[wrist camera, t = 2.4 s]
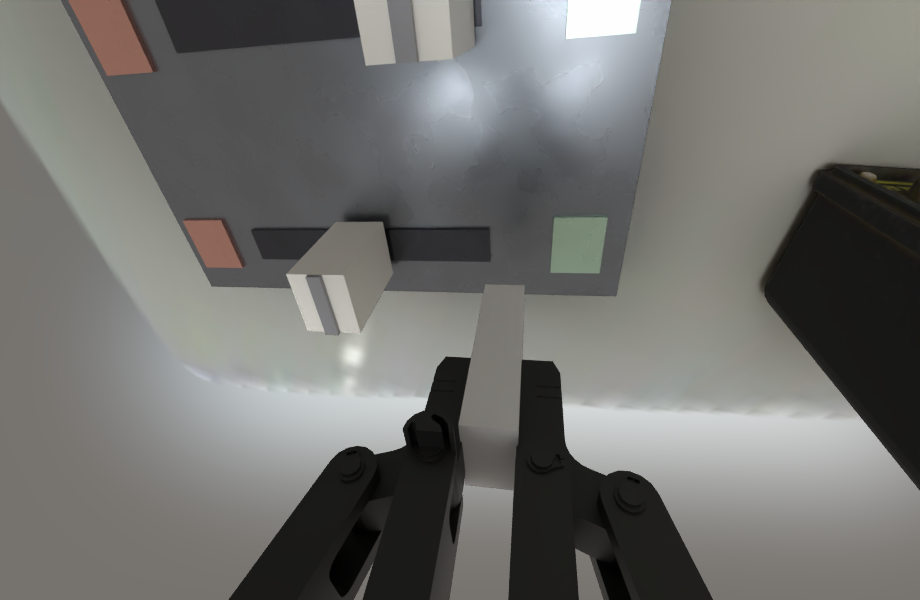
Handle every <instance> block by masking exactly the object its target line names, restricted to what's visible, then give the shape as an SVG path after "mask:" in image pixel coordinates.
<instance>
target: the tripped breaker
mask: <svg viewBox="0 0 920 600" xmlns="http://www.w3.org/2000/svg"><path fill="white" fill-rule="evenodd" d="M392 274H393V270H392V265H391V260H390V255H389V250H388V245H387V240H386V235H385V230H384V226H383V222H335V223H334V224H333V225H332V226H331V227H330V229H329V230H328V231H327V232H326V233H325V234H324V235H323V236H322V237H321V238H320V239H319V240H318V241H317V242H316V243H315V244H314V245H313V246H312V247H311V248H310V250H309V251H308V252H307V253H306V254H305V255H304V256H303V257H302V258H301V259H300V260H299V261H298V262H297V263H296V264H295V265H294V266H293V267H292V268H291V269H290V270H289V272H288V273H287V274H286V276H287V278H288V281H289V283H290V286H291V288H292V291H293V294H294V296H295V299H296V301H297V304H298V306H299V309H300V312H301V314H302V317H303V319H304V322H305V324H306V327H307V330H308V331H320V332H325V334H326V335H339V334H340V332H343V333H361V331H362V330H363V328H364V326H365V324H366V322H367V320H368V319H369V317H370V315H371V313H372V311H373V309H374V308H375V306H376V304H377V302H378V300H379V298H380V297H381V295H382V293H383V291H384V289H385V287H386V286H387V284H388V282H389V280H390V278H391V276H392Z"/></svg>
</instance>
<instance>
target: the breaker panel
mask: <svg viewBox="0 0 920 600" xmlns="http://www.w3.org/2000/svg"><path fill="white" fill-rule="evenodd" d="M61 1H62V3H63V5H64V7H65V9H66V11H67V13H68V14H69V16H70V18H71V20H72V22H73V24H74V26H75V28H76V30H77V31H78V33H79V35H80V37H81V39H82V41H83V43H84V45H85V47H86V49H87V50H88V52H89V54H90V56H91V58H92V60H93V62H94V64H95V66H96V68H97V69H98V71H99V73H100V75H101V77H102V79H103V81H104V83H105V85H106V87H107V88H108V90H109V92H110V94H111V96H112V98H113V100H114V102H115V104H116V105H117V107H118V109H119V111H120V113H121V115H122V117H123V119H124V121H125V123H126V124H127V126H128V128H129V130H130V132H131V134H132V136H133V138H134V140H135V142H136V143H137V145H138V147H139V149H140V151H141V153H142V155H143V157H144V159H145V160H146V162H147V164H148V166H149V168H150V170H151V172H152V174H153V176H154V178H155V179H156V181H157V183H158V185H159V187H160V189H161V191H162V193H163V195H164V197H165V198H166V200H167V202H168V204H169V206H170V208H171V210H172V212H173V214H174V216H175V217H176V219H177V221H178V223H179V225H180V227H181V229H182V231H183V233H184V234H185V236H186V238H187V240H188V242H189V244H190V246H191V248H192V250H193V252H194V253H195V255H196V257H197V259H198V261H199V263H200V265H201V267H202V269H203V271H204V272H205V274H206V276H207V278H208V280H209V282H210V284H211V286H218V287H259V288H291V286H290V283H289V281H288V278H287V276H286V274H287V273H288V272H289V270H290V269H291V268H292V267H293V266H294V265H295V264H296V263H297V262H298V261H299V260H300V259H301V258H302V257H303V256H304V255H305V254H306V253H307V252H308V251H309V250H310V248H311V247H312V246H313V245H314V244H315V243H316V242H317V241H318V240H319V239H320V238H321V237H322V236H323V235H324V234H325V233H326V232H327V231H328V230H329V229H330V227H331V226H332V225H333V224H334V223H335V222H383V226H384V230H385V235H386V240H387V245H388V250H389V255H390V260H391V265H392V270H393V274H392V276H391V278H390V280H389V282H388V284H387V286H386V287H385V289H384V291H423V292H464V293H484V288H485V284H495V285H525V287H524V294H546V295H587V296H616V294H617V289H618V284H619V278H620V273H621V268H622V262H623V257H624V252H625V246H626V241H627V236H628V230H629V225H630V220H631V214H632V209H633V204H634V198H635V193H636V188H637V182H638V177H639V172H640V166H641V161H642V156H643V150H644V145H645V140H646V134H647V129H648V124H649V118H650V113H651V108H652V102H653V97H654V92H655V86H656V81H657V76H658V70H659V65H660V60H661V54H662V49H663V44H664V38H665V33H666V28H667V22H668V17H669V12H670V6H671V1H672V0H473V9H474V32H475V47H474V48H472V49H470V50H468V51H466V52H465V53H463V54H461V55H459V56H457V57H456V58H454V59H447V60H434V61H421V62H415V63H402V64H396V63H394V64H381V65H368V66H366V65H365V59H364V54H363V48H362V43H361V37H360V32H359V27H358V21H357V16H356V10H355V5H354V0H61Z"/></svg>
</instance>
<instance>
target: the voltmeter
mask: <svg viewBox="0 0 920 600" xmlns="http://www.w3.org/2000/svg"><path fill="white" fill-rule="evenodd" d="M813 190H815V191H816V192H818V193H819V194H818V196H817V197H816V199H815V201H814V203H813V204H812V206H811V208H810V209H809V211H808V213H807V215H806V216H805V218H804V220H803V222H802V223H801V225H800V227H799V229H798V230H797V232H796V234H795V235H794V237H793V239H792V241H791V242H790V244H789V246H788V248H787V249H786V251H785V253H784V255H783V256H782V258H781V260H780V262H779V263H778V265H777V267H776V268H775V270H774V272H773V274H772V275H771V277H770V279H769V281H768V282H767V284H766V286H765V297H766V299H767V301H768V303H769V304H770V305H771V307H772V308H773V309H774V310H775V312H776V313H777V314H778V315H779V317H780V318H781V319H782V320H783V322H784V323H785V324H786V325H787V327H788V328H789V329H790V330H791V331H792V333H793V334H794V335H795V336H796V338H797V339H798V340H799V341H800V343H801V344H802V345H803V346H804V348H805V349H806V350H807V351H808V353H809V354H810V355H811V356H812V357H813V359H814V360H815V361H816V362H817V364H818V365H819V366H820V367H821V369H822V370H823V371H824V372H825V374H826V375H827V376H828V377H829V379H830V380H831V381H832V382H833V383H834V385H835V386H836V387H837V388H838V390H839V391H840V392H841V393H842V395H843V396H844V397H845V398H846V400H847V401H848V402H849V403H850V405H851V406H852V407H853V408H854V410H855V411H856V412H857V413H858V414H859V416H860V417H861V418H862V419H863V421H864V422H865V423H866V424H867V426H868V427H869V428H870V429H871V431H872V432H873V433H874V434H875V435H876V437H877V438H878V439H879V440H880V442H881V443H882V444H883V445H884V447H885V448H886V449H887V450H888V452H889V453H890V454H891V455H892V457H893V458H894V459H895V460H896V461H897V463H898V464H899V465H900V466H901V468H902V469H903V470H904V471H905V473H906V474H907V475H908V476H909V478H910V479H911V480H912V481H913V483H914V484H915V485H916V486H917V488H918V489H919V490H920V170H919V169H903V168H888V167H872V166H856V165H836V166H834V168H833V170H823V171H822V172H821V173H820V175H819V177H818V178H817V180H816V182H815V184H814V185H813Z"/></svg>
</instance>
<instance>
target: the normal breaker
mask: <svg viewBox="0 0 920 600" xmlns="http://www.w3.org/2000/svg"><path fill="white" fill-rule="evenodd" d="M354 5H355V10H356V16H357V21H358V27H359V32H360V37H361V43H362V48H363V54H364V59H365V65H366V66H368V65H381V64H394V63H396V64H402V63H415V62H421V61H434V60H447V59H454V58H456V57H457V56H459V55H461V54H463V53H465V52H466V51H468V50H470V49H472V48H474V47H475V32H474V9H473V0H354Z"/></svg>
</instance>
